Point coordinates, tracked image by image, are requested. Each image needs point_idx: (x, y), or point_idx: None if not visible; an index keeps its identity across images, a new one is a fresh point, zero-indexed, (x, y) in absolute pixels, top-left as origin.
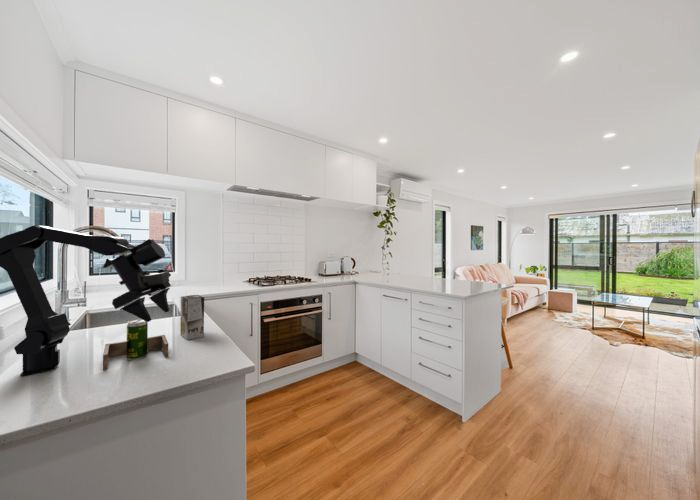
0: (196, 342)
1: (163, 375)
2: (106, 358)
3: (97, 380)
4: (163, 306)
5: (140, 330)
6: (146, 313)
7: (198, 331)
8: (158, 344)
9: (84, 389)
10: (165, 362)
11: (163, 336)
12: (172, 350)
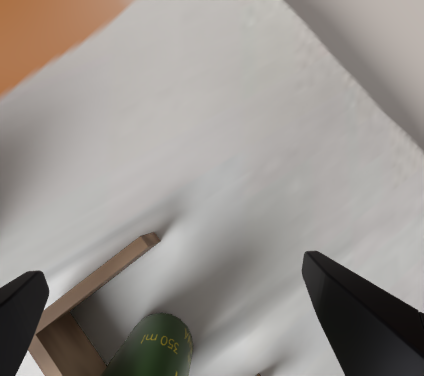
0: (7, 208)
1: (297, 156)
2: None
3: None
4: (3, 344)
5: None
6: (378, 289)
7: None
8: (65, 327)
9: None
10: (203, 210)
11: (42, 321)
12: (93, 253)
